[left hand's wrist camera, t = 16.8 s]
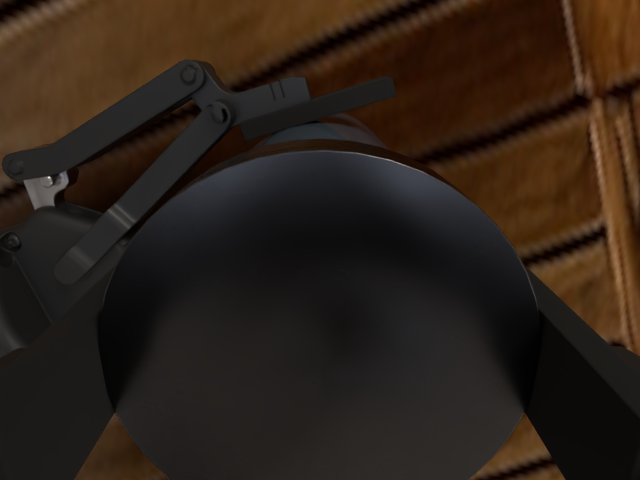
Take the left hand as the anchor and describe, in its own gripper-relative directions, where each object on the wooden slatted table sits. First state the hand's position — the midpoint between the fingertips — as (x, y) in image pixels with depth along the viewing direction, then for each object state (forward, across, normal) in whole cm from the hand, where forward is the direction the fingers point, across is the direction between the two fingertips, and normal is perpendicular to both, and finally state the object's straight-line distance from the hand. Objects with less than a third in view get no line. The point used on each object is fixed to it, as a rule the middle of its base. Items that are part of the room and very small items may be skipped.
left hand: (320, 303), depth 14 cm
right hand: (+9, -4, -1) cm, 10 cm away
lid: (-3, 0, 0) cm, 3 cm away
